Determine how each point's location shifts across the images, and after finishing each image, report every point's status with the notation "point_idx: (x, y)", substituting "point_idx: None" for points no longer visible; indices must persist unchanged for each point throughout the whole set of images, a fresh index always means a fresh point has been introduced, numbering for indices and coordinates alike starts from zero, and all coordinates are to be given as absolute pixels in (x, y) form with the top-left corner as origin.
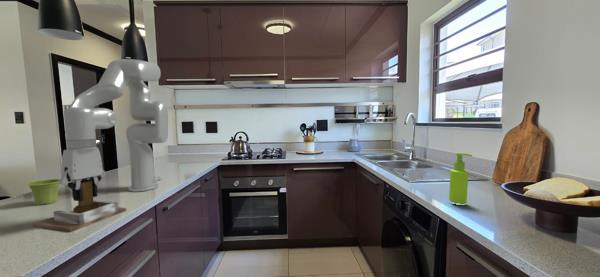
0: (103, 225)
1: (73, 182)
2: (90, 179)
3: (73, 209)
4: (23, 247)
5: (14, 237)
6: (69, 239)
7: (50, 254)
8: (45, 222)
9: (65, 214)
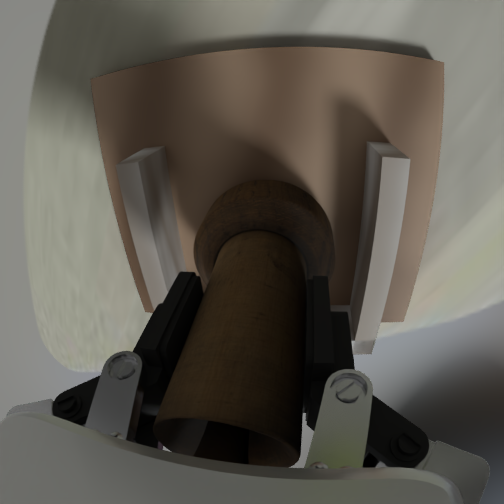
0: None
1: (116, 423)
2: (324, 444)
3: (197, 232)
4: (51, 277)
5: (39, 161)
6: (131, 342)
7: (90, 361)
8: (116, 128)
9: (142, 260)
